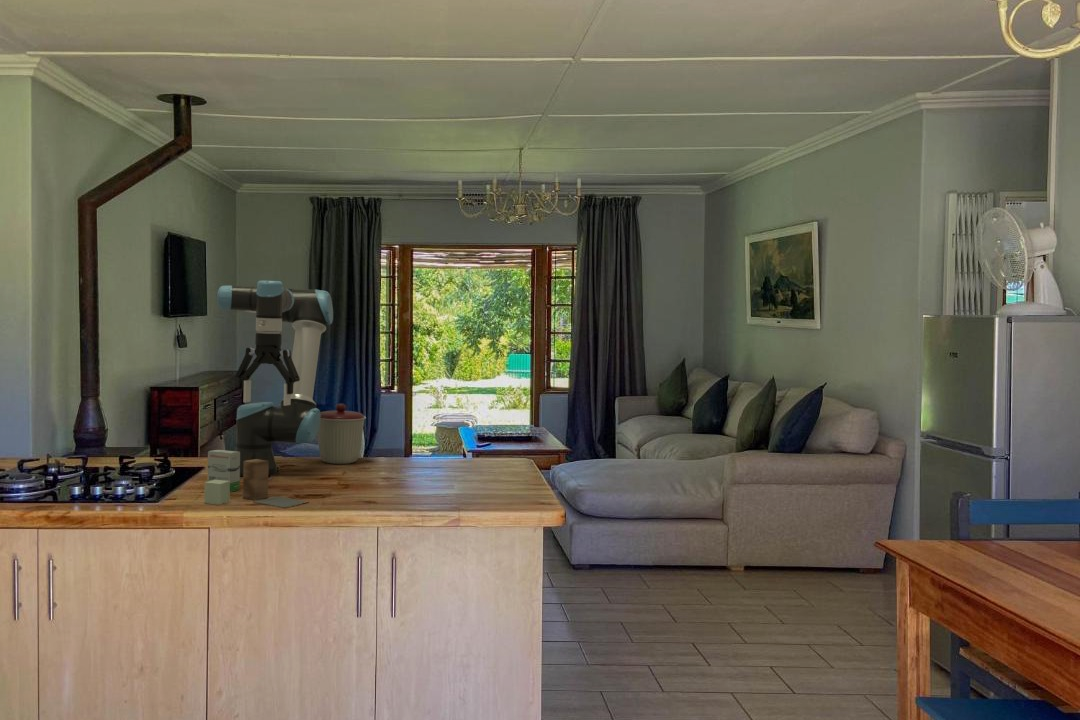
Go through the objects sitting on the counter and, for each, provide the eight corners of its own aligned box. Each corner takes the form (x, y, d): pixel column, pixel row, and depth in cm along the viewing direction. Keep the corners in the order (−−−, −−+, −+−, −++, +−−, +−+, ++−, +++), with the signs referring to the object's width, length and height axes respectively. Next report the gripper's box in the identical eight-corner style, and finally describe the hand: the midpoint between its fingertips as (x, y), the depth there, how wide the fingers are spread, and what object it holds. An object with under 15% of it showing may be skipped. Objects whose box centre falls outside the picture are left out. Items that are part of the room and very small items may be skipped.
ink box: (240, 489, 312) (241, 451, 311) (230, 492, 307) (231, 453, 307) (216, 486, 315) (217, 448, 314) (206, 489, 310) (207, 450, 309)
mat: (253, 502, 294) (253, 501, 294) (277, 497, 303) (277, 496, 303) (284, 508, 289) (284, 507, 289) (308, 502, 297) (308, 501, 297)
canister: (339, 468, 356) (341, 407, 355) (302, 461, 366) (304, 402, 365) (375, 462, 371) (377, 404, 370) (338, 456, 381) (340, 399, 380)
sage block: (204, 503, 291) (204, 482, 291) (213, 500, 296) (214, 479, 296) (220, 505, 290) (220, 483, 290) (229, 501, 295) (230, 481, 294)
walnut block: (242, 498, 300) (243, 461, 299) (255, 495, 304) (256, 458, 303) (255, 500, 297) (256, 462, 297) (267, 497, 302) (268, 460, 301)
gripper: (224, 330, 306) (223, 401, 307) (299, 334, 298) (297, 407, 300) (239, 330, 313) (237, 399, 314) (312, 334, 305) (310, 405, 307)
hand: (266, 403), depth 307 cm, fingers open, 13 cm apart
